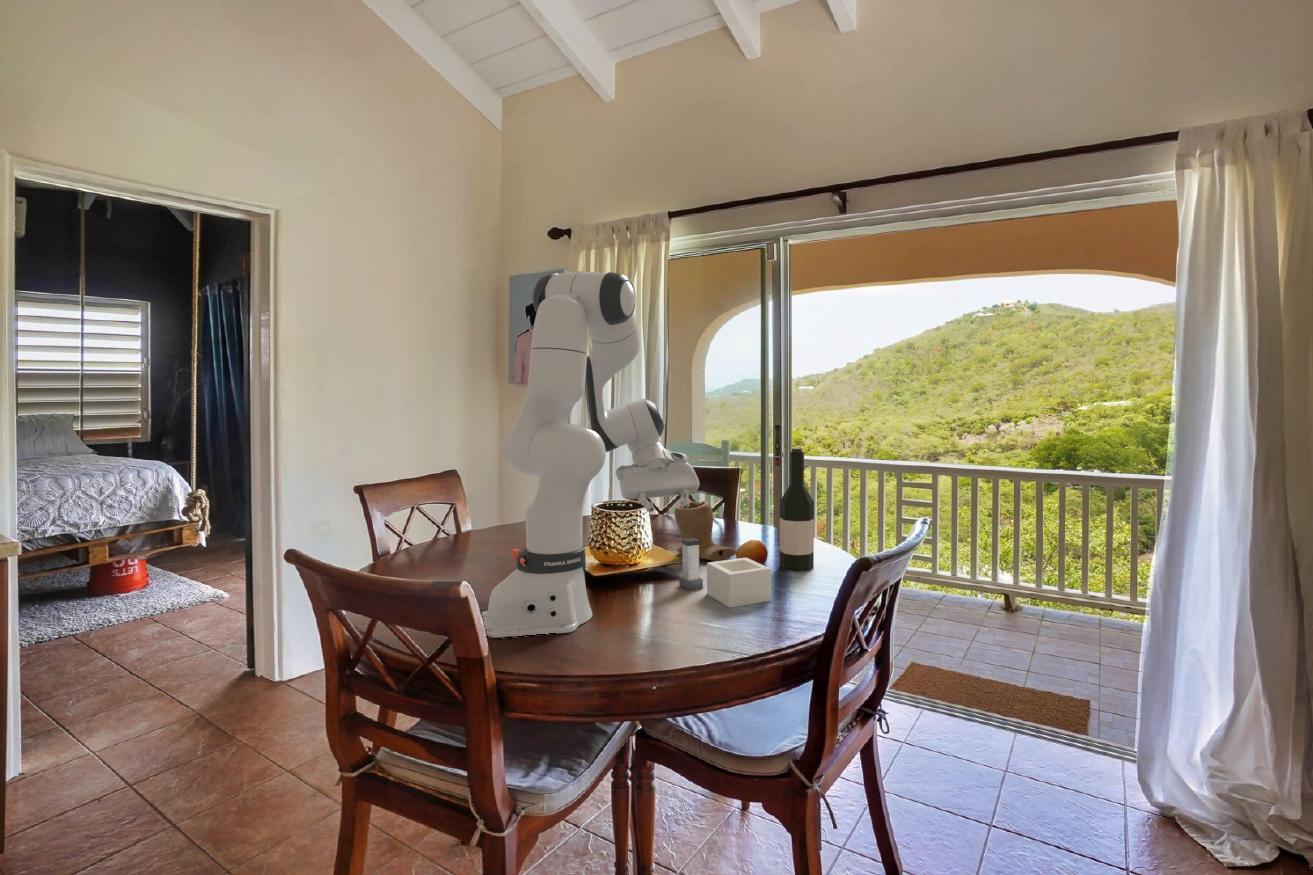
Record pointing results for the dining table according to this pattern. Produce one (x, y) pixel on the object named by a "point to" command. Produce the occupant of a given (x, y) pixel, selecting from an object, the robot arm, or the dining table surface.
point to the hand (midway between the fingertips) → (668, 508)
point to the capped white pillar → (690, 565)
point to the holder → (738, 582)
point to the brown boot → (701, 530)
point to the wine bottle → (796, 520)
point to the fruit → (753, 551)
